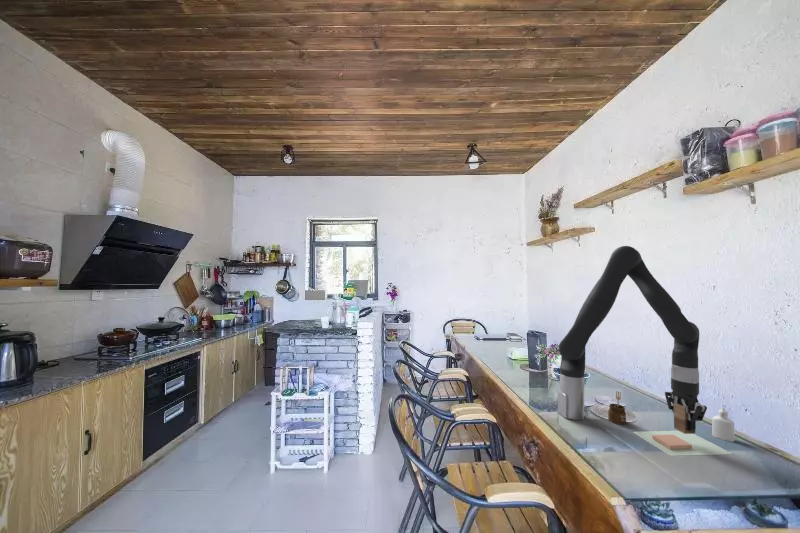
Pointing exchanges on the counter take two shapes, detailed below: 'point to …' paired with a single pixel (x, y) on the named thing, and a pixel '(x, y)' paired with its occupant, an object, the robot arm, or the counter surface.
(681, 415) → the block
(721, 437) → the eye dropper bottle
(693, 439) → the mat
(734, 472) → the counter surface
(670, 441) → the tile
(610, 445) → the counter surface
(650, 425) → the counter surface
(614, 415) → the utensil holder
